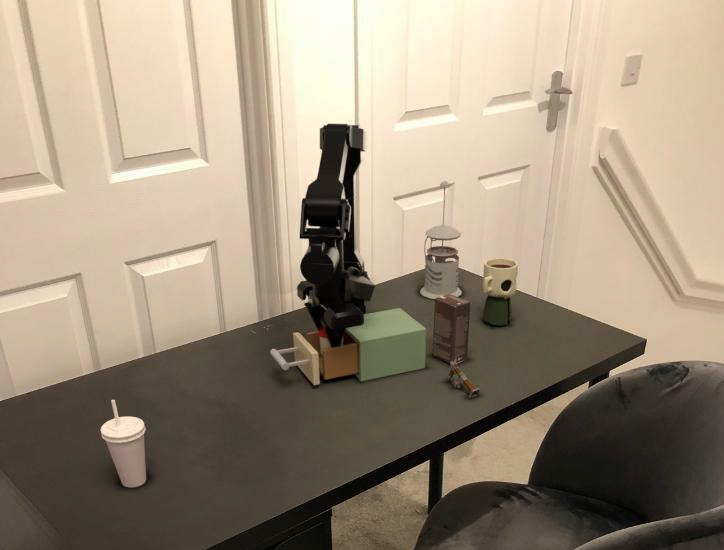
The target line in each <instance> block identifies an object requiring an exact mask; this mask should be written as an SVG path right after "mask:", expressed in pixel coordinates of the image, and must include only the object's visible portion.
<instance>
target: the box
mask: <svg viewBox="0 0 724 550" xmlns="http://www.w3.org/2000/svg"><path fill="white" fill-rule="evenodd" d="M471 302H472V301H469V300H468V299H464V298H461V297H460V296H458V297H456V296H454V295H451V294H448V295H444V296H440V297H437V298H435V299H434V311H433V312H434V313H433V334H432V336H433V338H432V357H434V358H437V359H439V360H442V361H443V362H446V363H448V364H450V362H451V361H453V362H456V363H457V364H461V363H463V362H464V361H467V359H468V348H469V335H470V319H471V317H470V316H471V305H472V303H471Z"/></svg>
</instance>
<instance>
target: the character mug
mask: <svg viewBox="0 0 724 550" xmlns="http://www.w3.org/2000/svg"><path fill="white" fill-rule="evenodd" d="M518 271H519V263H518V261H516V260H514V259H512V258H507V257H493V258H488V259H485V261H484V265H483V275H482V293H484V294H485V295H486V298H485V302H484V306H483V311H482V320H483V321H484V322H486V323H488V324H491V325H493V326H505V325H508V320H509V323H512V316H513V315H512V299H511V297H512V296H514V295H515V293H516V292H517V278H518Z"/></svg>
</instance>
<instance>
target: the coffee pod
mask: <svg viewBox="0 0 724 550" xmlns="http://www.w3.org/2000/svg"><path fill="white" fill-rule="evenodd" d="M317 331H318V330H317ZM318 335H319V336H320V351H321V354H322V349H327V348H331V346H330V343H329V341H328V338H327V336H326V333H325V331H324V328H323V329H321V330H319V331H318ZM343 345H344V344H343V338H342V342H341V345H340V346H343Z"/></svg>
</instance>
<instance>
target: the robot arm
mask: <svg viewBox="0 0 724 550" xmlns="http://www.w3.org/2000/svg"><path fill="white" fill-rule="evenodd" d="M367 145H368V135H367V131H366V130H365V129H364V128H361V125H360V124H348V123H326V124H323V126H322V127H319V150H321V153H320V158H319V159H320V161H319V165H318V172H317V176H316V179H315V180H313V181H311V183H309V184H308V186H307V189H306V192H305V197H303V198H301V199H302V200H301V205H300V206H301V207H300V221H299V239H300V240H308V247H307V249H306V251H305V253H304V255H303V257H302V259H301V260H300V265H299V269H300V273H301V275H302V277H303V279H305V280H301V281H300V282H299V283H298V284H297V286H296V292H297V293H296V295H297V297H298V298H299V299H300V300H301V301H305V300H306V299H307V302H306V301H305V302H304V304H303V305H304V307H305V309H306V311H307V312H308V314H309V316H310V318H311V320H312V322H313V324H314V326H315V327H316V330H317V331H319V330H321V329H323V328H324V331H325V333H326V336H327V338H328V341H329V343H330V346H331V348H333V347H338V346H340V345H341V342H342V338H343V335H344V332H345V329H346V328H349V327H355V326H360V325H363V324H364V314H367V307H366V306H367V305H366V303H365V302H371V300H372V297H373V294H374V291H375V287H376V284H375V283H374V282H372V281H371V278H370V277H369V274H368V270H366V269H365V260H364V258H363V257H362V255H361V254H360V252H359V250H358V246H357V244H358V243H357V240H358V239H357V172H358V170H359V169H360V166H361V164H362V162H363V161H364V159H365V157H364V156H365V155H364V153H365V152H367ZM307 225H308V227H307Z"/></svg>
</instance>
